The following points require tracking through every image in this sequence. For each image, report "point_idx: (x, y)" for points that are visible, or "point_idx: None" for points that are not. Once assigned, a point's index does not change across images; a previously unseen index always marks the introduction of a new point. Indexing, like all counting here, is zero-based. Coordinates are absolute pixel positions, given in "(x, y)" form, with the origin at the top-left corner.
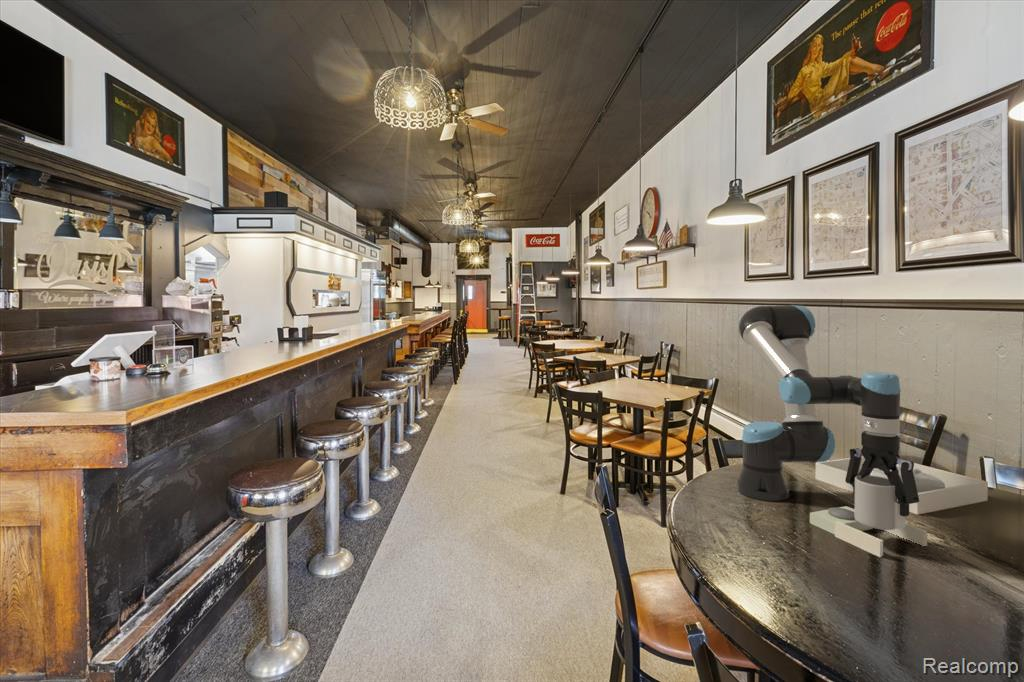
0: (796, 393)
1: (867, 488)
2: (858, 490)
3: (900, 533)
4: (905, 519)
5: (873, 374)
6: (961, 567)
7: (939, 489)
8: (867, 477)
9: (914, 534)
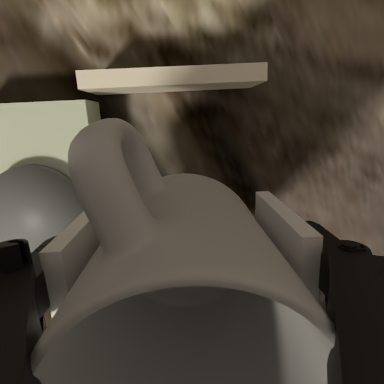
0: None
1: None
2: None
3: (177, 89)
4: (279, 201)
5: None
6: (365, 119)
7: None
8: (47, 356)
9: (226, 85)
